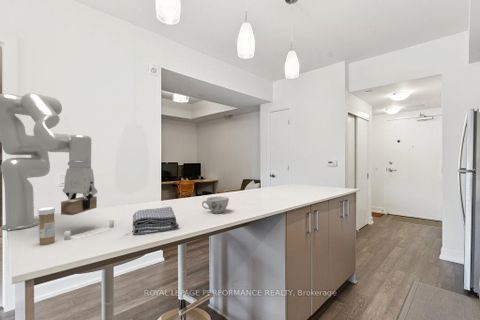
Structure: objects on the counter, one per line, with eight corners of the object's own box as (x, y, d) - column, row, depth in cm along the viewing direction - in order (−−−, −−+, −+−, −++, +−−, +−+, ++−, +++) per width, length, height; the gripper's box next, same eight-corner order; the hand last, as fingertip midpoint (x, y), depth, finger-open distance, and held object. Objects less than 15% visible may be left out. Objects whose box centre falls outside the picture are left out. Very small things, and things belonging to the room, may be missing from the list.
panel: (49, 237, 93) (49, 228, 93) (101, 224, 110) (101, 216, 110) (69, 245, 85) (69, 234, 85) (121, 229, 102) (121, 221, 102)
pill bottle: (37, 245, 85) (36, 208, 84) (53, 242, 88) (52, 206, 88) (40, 248, 82) (39, 210, 81) (57, 244, 85) (56, 207, 85)
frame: (61, 214, 92) (61, 201, 91) (86, 207, 104) (86, 195, 104) (72, 215, 91) (72, 201, 91) (96, 207, 104) (96, 196, 104)
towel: (132, 226, 108) (132, 209, 108) (173, 221, 115) (173, 205, 115) (132, 236, 94) (132, 217, 94) (179, 230, 101) (179, 212, 101)
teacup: (226, 209, 140) (226, 195, 140) (231, 214, 128) (230, 199, 128) (201, 210, 136) (201, 196, 136) (203, 215, 124) (202, 200, 124)
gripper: (53, 164, 94) (53, 210, 95) (93, 166, 93) (92, 212, 93) (68, 164, 102) (68, 205, 102) (105, 165, 100) (105, 208, 101)
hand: (79, 208), depth 98 cm, fingers closed on frame, 5 cm apart
